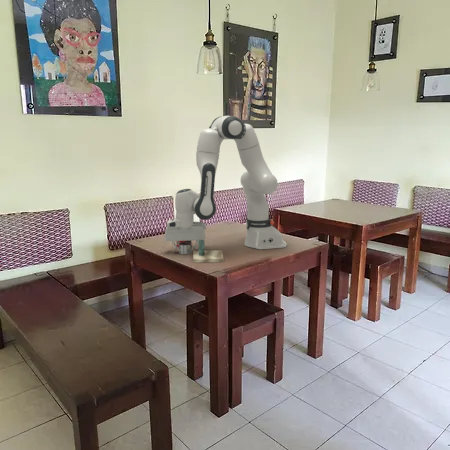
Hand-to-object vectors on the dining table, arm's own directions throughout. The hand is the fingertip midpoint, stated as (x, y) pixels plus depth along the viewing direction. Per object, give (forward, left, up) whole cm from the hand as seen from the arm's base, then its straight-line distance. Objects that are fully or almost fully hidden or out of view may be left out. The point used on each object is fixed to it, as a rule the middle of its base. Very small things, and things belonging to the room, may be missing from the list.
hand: (185, 248), depth 208 cm
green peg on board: (-11, +10, -2) cm, 15 cm away
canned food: (+1, -11, -2) cm, 11 cm away
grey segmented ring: (0, 0, -2) cm, 2 cm away
